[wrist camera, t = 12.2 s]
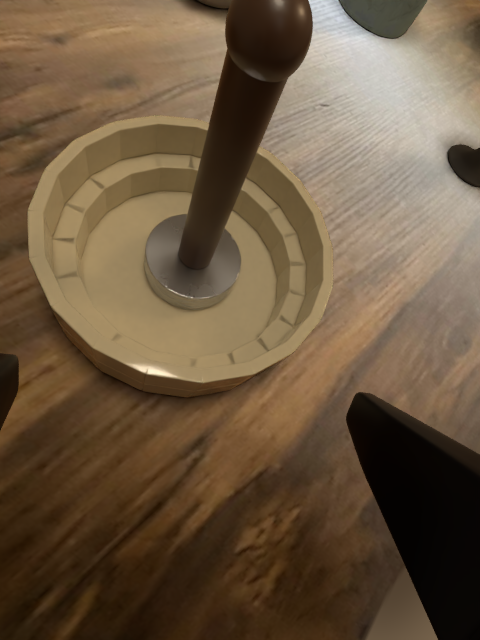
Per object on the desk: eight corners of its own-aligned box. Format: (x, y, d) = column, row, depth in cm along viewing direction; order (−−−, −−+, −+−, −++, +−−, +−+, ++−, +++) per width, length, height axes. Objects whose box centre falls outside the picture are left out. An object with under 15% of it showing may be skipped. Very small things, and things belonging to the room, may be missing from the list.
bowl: (185, 458, 17) (203, 459, 13) (-14, 258, 18) (-57, 200, 14) (335, 287, 23) (378, 252, 19) (185, 144, 24) (196, 81, 20)
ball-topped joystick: (190, 328, 19) (303, 95, 7) (123, 262, 19) (113, -83, 7) (250, 274, 21) (417, 27, 9) (190, 215, 21) (272, -105, 9)
